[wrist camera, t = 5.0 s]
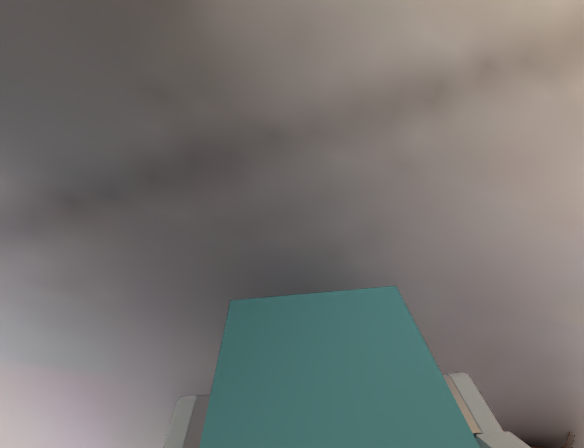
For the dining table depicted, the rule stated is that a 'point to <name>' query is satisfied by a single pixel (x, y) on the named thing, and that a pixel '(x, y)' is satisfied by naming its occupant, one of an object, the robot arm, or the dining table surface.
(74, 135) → the dining table surface
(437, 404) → the teal block
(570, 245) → the dining table surface
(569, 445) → the fruit
